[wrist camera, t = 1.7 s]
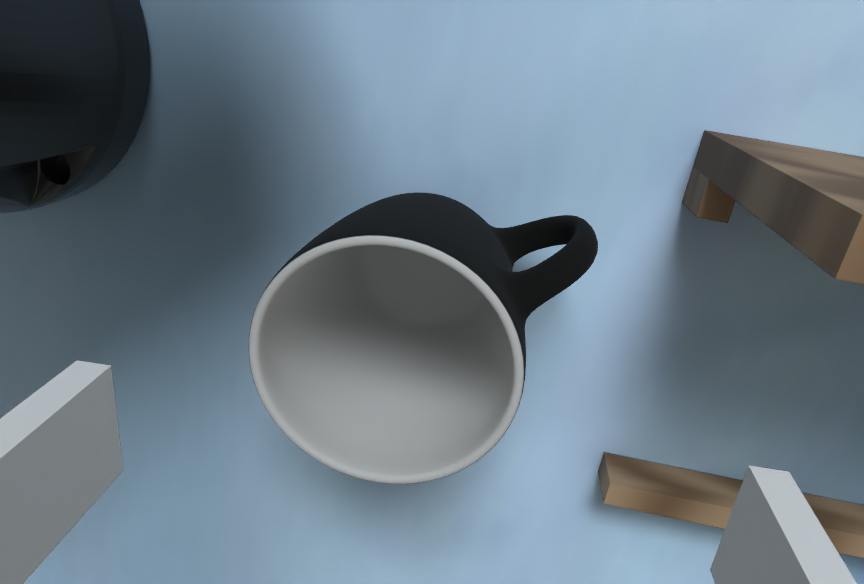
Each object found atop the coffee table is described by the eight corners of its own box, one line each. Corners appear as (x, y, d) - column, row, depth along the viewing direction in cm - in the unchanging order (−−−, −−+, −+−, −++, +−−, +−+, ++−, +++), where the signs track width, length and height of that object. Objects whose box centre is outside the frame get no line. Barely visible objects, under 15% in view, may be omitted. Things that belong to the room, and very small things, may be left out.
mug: (387, 375, 32) (331, 516, 23) (298, 216, 29) (193, 301, 20) (619, 287, 29) (665, 409, 19) (541, 100, 26) (551, 136, 17)
